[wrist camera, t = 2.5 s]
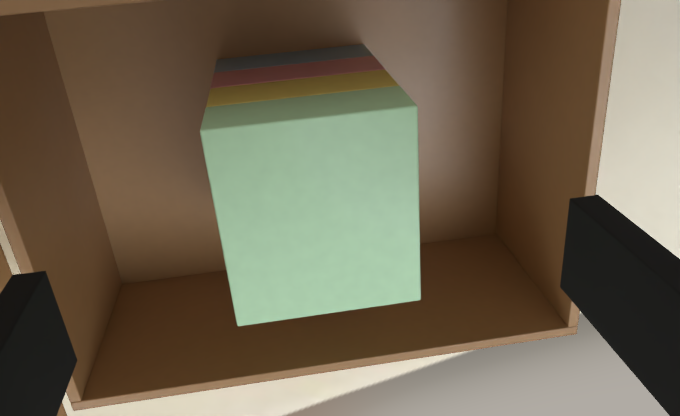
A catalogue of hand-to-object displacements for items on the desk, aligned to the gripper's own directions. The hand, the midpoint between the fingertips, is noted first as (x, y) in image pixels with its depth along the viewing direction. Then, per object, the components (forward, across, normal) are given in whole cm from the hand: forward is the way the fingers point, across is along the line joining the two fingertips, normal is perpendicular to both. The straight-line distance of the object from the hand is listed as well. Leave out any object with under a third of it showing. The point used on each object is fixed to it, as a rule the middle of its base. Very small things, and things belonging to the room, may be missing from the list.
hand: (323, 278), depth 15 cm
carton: (+12, 0, 0) cm, 12 cm away
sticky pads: (+12, 0, 0) cm, 12 cm away
